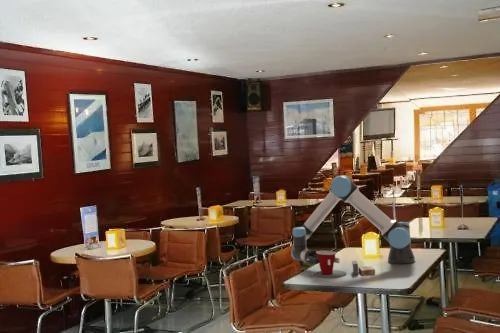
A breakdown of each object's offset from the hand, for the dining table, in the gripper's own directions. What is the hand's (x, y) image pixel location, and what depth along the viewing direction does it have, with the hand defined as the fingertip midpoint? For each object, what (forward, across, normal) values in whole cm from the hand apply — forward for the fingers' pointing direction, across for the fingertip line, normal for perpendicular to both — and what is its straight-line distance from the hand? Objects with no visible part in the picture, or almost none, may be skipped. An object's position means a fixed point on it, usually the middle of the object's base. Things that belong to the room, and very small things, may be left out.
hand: (334, 261), depth 299 cm
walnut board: (+6, +16, +8) cm, 19 cm away
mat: (-5, 0, +8) cm, 9 cm away
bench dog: (+3, +12, +8) cm, 14 cm away
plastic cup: (-5, -2, +7) cm, 9 cm away
